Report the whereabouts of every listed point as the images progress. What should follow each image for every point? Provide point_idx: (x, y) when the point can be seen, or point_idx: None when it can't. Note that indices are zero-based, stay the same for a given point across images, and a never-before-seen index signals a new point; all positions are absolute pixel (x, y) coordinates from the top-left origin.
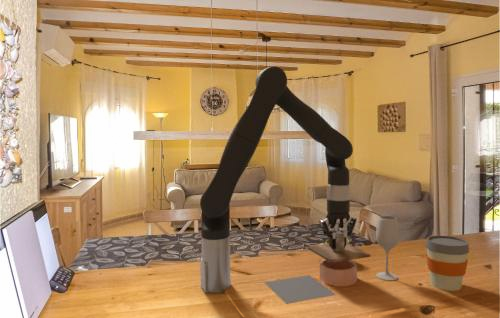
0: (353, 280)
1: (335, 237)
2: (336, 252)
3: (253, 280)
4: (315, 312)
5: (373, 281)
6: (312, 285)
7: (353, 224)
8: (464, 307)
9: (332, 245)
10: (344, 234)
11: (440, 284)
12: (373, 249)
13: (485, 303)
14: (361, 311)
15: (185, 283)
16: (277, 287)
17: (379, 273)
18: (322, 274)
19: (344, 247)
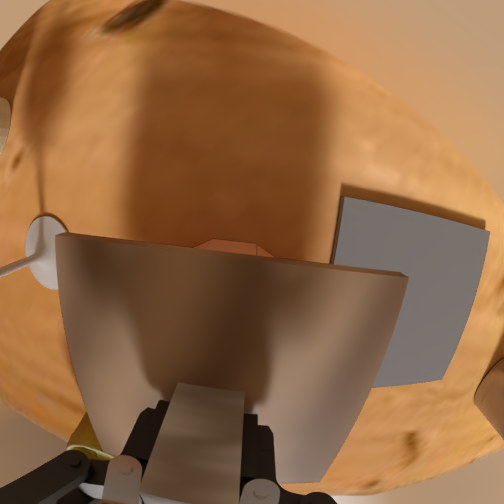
0: (200, 247)
1: (246, 487)
2: (251, 386)
3: (434, 402)
4: (453, 152)
5: None
6: None
7: (14, 498)
8: (62, 16)
9: (267, 439)
10: (135, 482)
11: (3, 111)
12: (19, 399)
13: (23, 33)
14: (333, 67)
15: None
16: (447, 338)
17: (56, 279)
18: None
19: (163, 401)
